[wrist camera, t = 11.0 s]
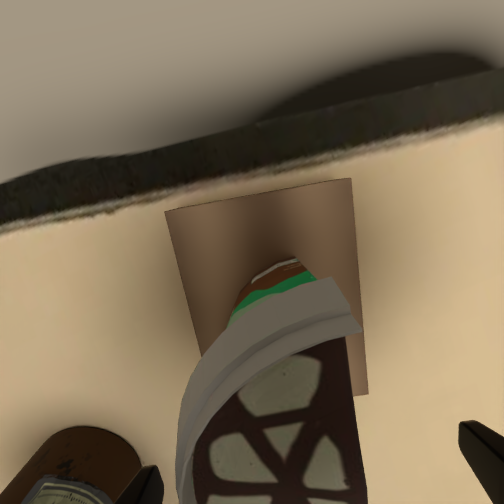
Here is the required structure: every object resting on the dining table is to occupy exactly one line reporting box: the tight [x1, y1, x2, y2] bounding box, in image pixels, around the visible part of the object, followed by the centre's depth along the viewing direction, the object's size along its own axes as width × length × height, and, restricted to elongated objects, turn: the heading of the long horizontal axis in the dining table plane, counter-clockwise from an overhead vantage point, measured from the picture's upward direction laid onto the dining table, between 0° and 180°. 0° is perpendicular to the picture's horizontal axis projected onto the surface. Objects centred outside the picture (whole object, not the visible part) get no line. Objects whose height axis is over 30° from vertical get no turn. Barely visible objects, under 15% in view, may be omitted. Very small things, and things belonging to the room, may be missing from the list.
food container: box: [175, 256, 368, 504], centre depth 12 cm, size 12×6×10 cm, turn 11°
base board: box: [164, 178, 369, 396], centre depth 18 cm, size 11×15×3 cm
